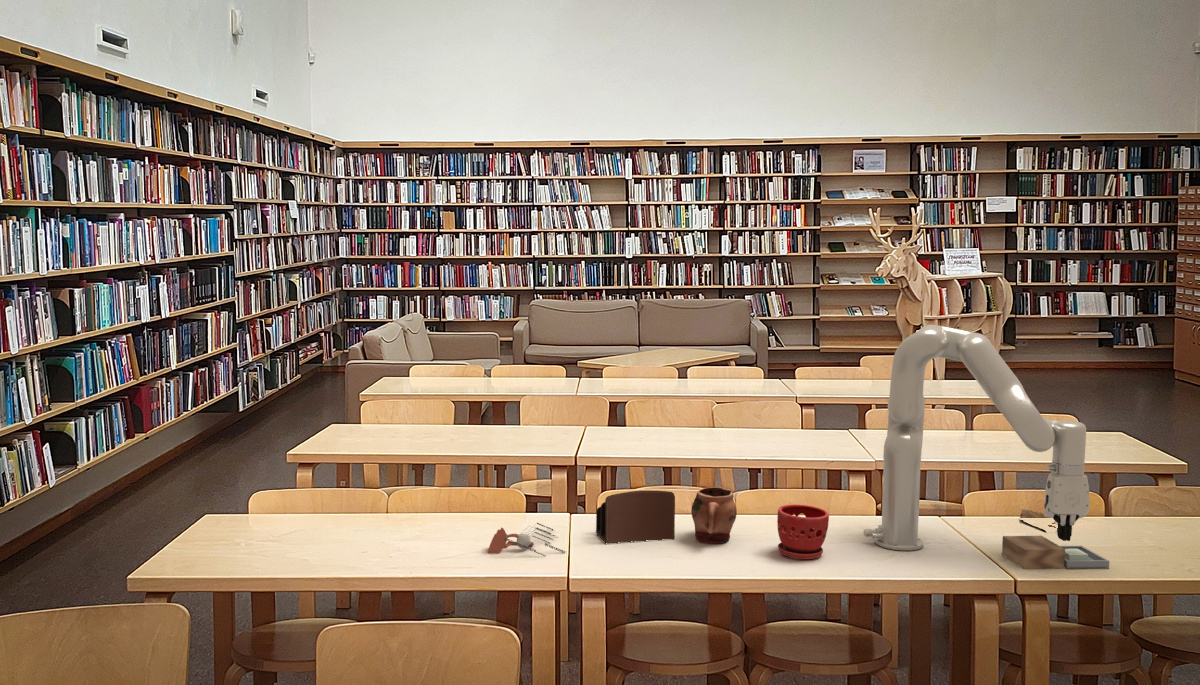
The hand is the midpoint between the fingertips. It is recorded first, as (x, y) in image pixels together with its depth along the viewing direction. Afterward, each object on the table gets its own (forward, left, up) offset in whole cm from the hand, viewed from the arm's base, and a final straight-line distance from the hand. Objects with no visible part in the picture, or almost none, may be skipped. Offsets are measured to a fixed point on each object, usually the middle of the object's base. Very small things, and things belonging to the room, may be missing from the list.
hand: (1064, 539), depth 264 cm
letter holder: (-108, +26, -6) cm, 112 cm away
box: (+3, 0, -6) cm, 7 cm away
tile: (+3, 0, -3) cm, 4 cm away
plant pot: (-66, +8, -6) cm, 67 cm away
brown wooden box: (-8, 0, -6) cm, 10 cm away
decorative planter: (-87, +21, -6) cm, 90 cm away
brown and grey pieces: (-137, +21, -7) cm, 138 cm away
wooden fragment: (+12, +38, -6) cm, 40 cm away
